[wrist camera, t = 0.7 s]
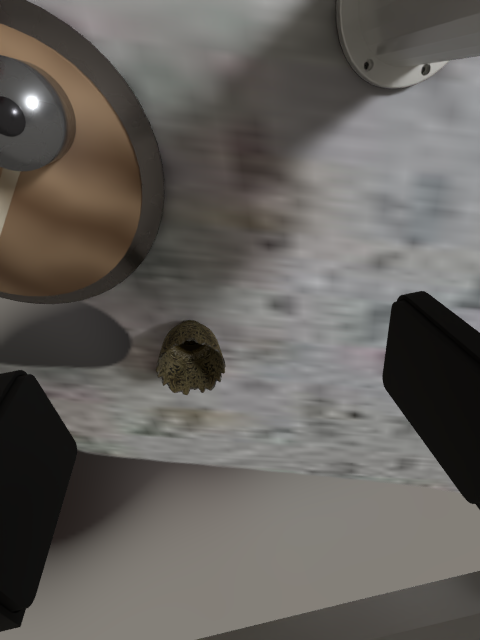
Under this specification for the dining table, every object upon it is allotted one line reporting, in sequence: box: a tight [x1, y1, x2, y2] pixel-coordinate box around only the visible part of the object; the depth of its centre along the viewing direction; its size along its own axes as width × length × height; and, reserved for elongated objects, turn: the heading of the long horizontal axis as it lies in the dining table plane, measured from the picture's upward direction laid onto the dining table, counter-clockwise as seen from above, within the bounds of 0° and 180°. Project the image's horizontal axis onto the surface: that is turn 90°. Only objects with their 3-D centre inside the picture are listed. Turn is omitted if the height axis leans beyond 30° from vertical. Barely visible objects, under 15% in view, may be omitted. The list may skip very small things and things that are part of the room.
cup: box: [156, 320, 225, 395], centre depth 40 cm, size 8×7×8 cm
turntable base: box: [0, 0, 164, 304], centre depth 31 cm, size 26×26×1 cm
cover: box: [0, 55, 76, 171], centre depth 25 cm, size 7×7×4 cm
